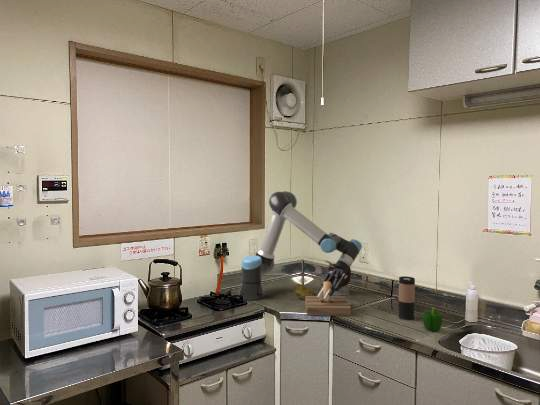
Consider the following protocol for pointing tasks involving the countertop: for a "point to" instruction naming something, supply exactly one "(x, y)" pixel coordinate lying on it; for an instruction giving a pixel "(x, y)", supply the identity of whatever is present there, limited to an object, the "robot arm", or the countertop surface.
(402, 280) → the travel mug
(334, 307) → the hole block
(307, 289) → the potato
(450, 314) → the countertop surface
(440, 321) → the bell pepper
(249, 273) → the robot arm
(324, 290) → the peg
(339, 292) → the mate gourd
